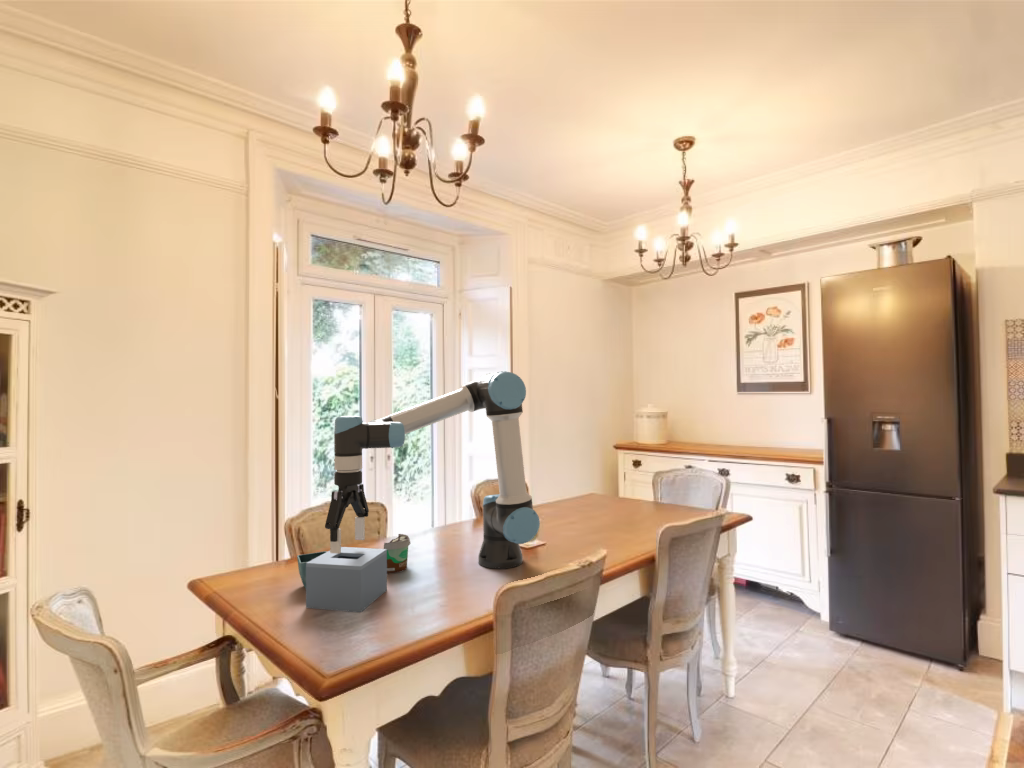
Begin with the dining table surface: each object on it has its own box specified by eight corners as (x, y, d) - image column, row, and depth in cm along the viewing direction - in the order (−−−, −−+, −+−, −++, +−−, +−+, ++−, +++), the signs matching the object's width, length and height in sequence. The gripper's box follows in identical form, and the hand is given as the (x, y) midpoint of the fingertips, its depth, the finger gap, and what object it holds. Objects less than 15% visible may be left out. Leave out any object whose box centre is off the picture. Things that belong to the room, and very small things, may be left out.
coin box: (386, 590, 155) (386, 549, 155) (360, 612, 139) (360, 566, 139) (337, 586, 158) (337, 546, 158) (306, 607, 142) (306, 562, 142)
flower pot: (299, 594, 152) (299, 562, 153) (296, 584, 160) (296, 554, 160) (331, 588, 156) (331, 558, 157) (327, 579, 164) (327, 550, 164)
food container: (401, 575, 167) (401, 544, 168) (383, 574, 169) (383, 543, 169) (416, 563, 180) (416, 534, 180) (399, 562, 181) (399, 533, 181)
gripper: (357, 464, 162) (357, 534, 162) (311, 476, 138) (310, 558, 137) (380, 465, 161) (380, 535, 160) (337, 477, 136) (337, 560, 136)
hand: (348, 546), depth 149 cm, fingers open, 13 cm apart
